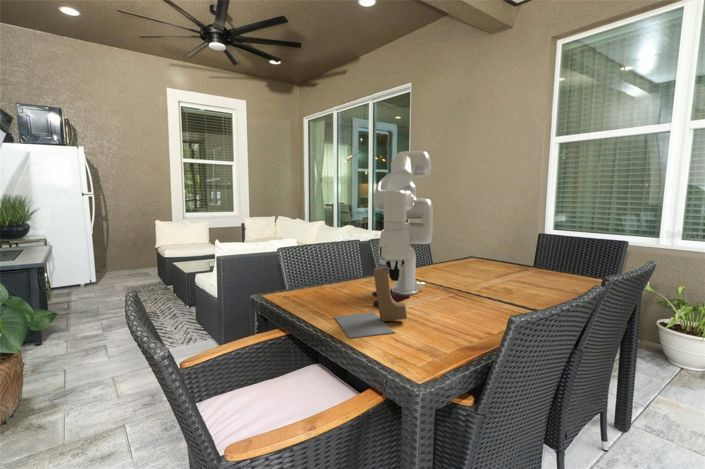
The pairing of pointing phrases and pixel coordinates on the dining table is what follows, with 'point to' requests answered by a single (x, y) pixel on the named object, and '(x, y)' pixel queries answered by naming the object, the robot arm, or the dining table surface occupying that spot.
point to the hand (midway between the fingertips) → (394, 279)
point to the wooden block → (387, 298)
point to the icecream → (395, 297)
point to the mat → (363, 325)
